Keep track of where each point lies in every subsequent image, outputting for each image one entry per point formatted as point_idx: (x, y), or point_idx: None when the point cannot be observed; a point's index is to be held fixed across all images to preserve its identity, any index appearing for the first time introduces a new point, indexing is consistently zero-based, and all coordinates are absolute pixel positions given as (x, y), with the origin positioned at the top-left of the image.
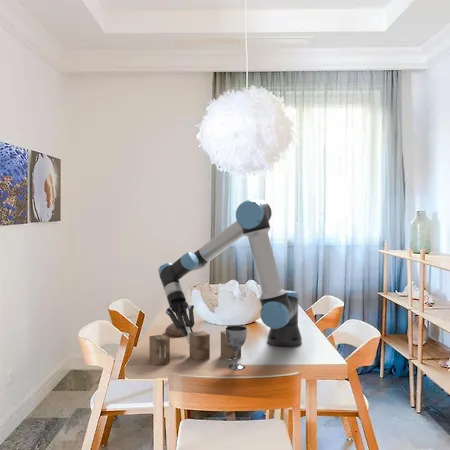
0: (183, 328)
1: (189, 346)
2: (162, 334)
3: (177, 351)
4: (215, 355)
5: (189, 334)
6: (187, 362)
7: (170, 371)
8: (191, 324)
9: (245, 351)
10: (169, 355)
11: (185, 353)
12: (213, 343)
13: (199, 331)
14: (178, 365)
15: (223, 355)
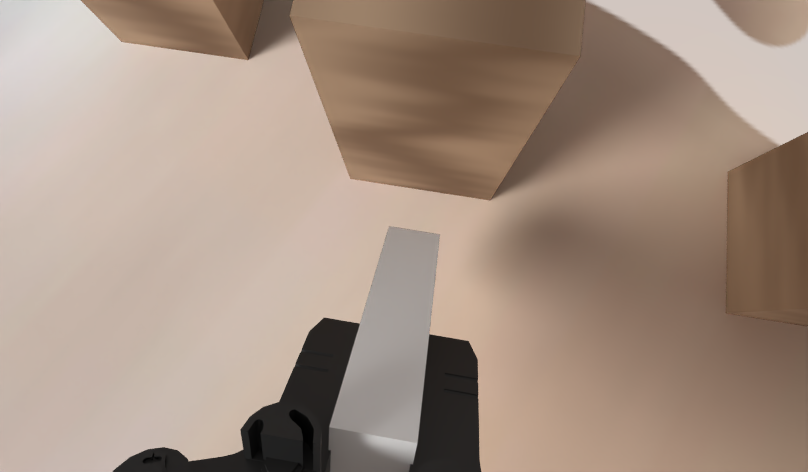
0: (471, 466)
1: (513, 162)
2: None
3: (495, 425)
4: (275, 93)
5: (566, 77)
6: (581, 99)
7: (800, 20)
8: (251, 425)
9: (6, 18)
10: (794, 141)
11: (462, 313)
12: (18, 401)
13: (374, 8)
14: (683, 87)
15: (254, 2)
